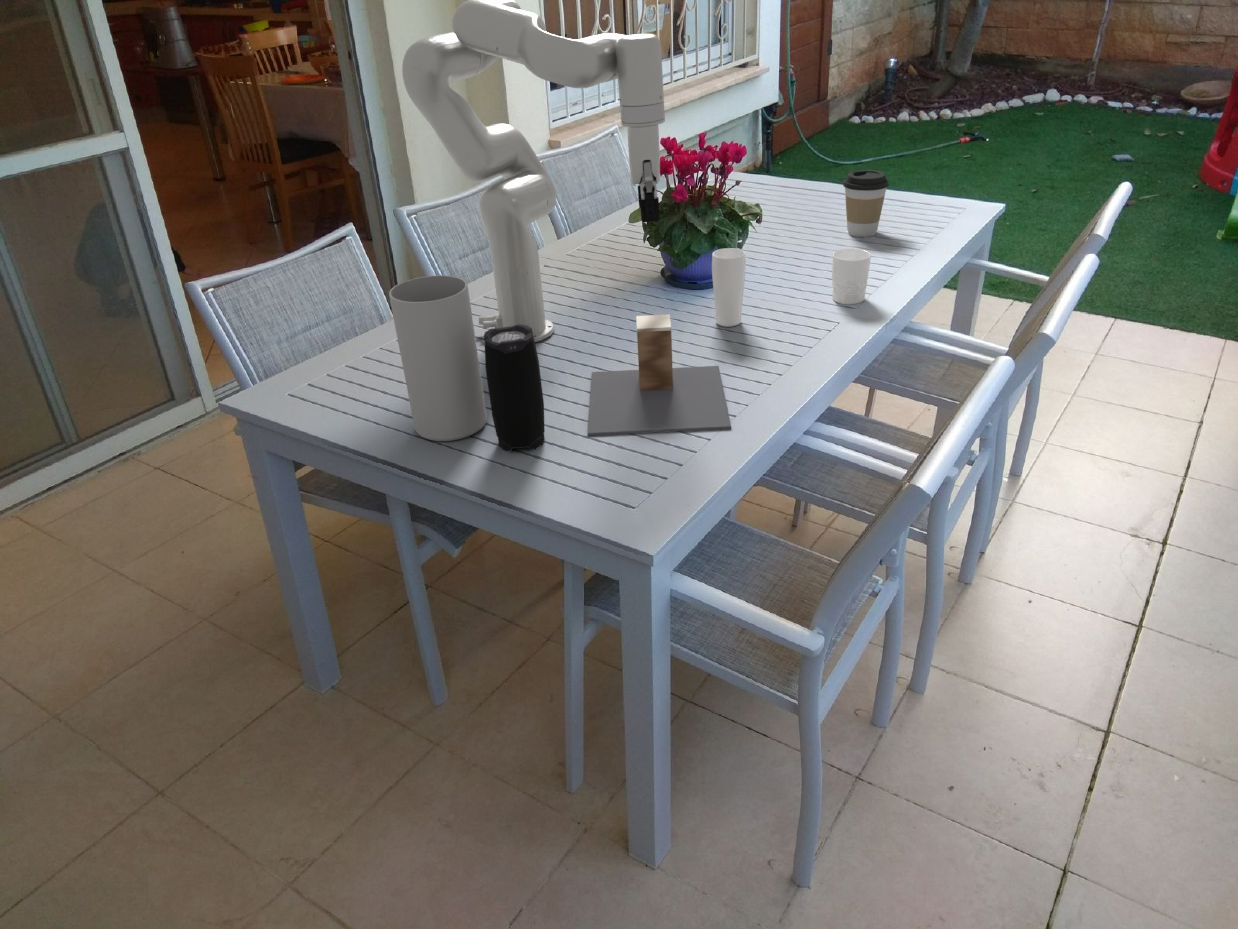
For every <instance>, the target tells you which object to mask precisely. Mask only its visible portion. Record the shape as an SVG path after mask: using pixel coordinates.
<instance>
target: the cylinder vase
mask: <svg viewBox="0 0 1238 929" xmlns="http://www.w3.org/2000/svg"><path fill="white" fill-rule="evenodd" d="M468 284H469V283H468V282H467V280H465V279H464V278H461V277H458V276H455V275H443V274H442V275H441V274H440V275H437V274H436V275H427V276H420V277H415V278H412V279H408V280H405V281H402V282H399V283H398V284H396V285H394V286H393V287H392V288H391V289H390V290H389V292H388V295H389V301H390V307H391V312H392V316H393V323H394V328H395V333H396V338H397V344H398V348H399V354H400V358H401V364H402V369H403V374H404V380H405V385H406V389H407V394H408V401H409V406H410V411H411V416H412V417H411V418H412V421H413V426H414V430H415V432H416V433H417V434H418V435H419V436H420V437H422V438H424V439H427V440H430V441H434V442H450V441H451V442H452V441H458V440H461V439H465V438H469V437H470V436H472V435H474V434H476V433H478V432H480V430H482V429H483V428H484V426H485V425H486V422H487V420H488V419H487V418H488V415H487V409H486V408H487V407H486V401H485V395H484V388H483V382H482V381H483V380H482V375H481V368H480V361H479V354H478V346H477V339H476V333H475V326H474V320H473V313H472V312H473V311H472V306H471V299H470V293H469V286H468Z"/></svg>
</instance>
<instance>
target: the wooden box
mask: <svg viewBox="0 0 1238 929" xmlns="http://www.w3.org/2000/svg"><path fill="white" fill-rule="evenodd" d="M636 340H637V358H638V362H637V363H638V370H639V382H640V391H645V390H665V389H673V370H672V368H673V343H672V342H673V340H672V322H671V314H669V313H668V314H653V315H651V314H647V315H636Z"/></svg>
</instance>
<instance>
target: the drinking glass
mask: <svg viewBox="0 0 1238 929" xmlns="http://www.w3.org/2000/svg"><path fill="white" fill-rule="evenodd" d="M711 256H712V258H711V276H712V278H711V279H712V286H713V287H712V289H713V296H714V298H713V299H714V309H715V310H714V312H715V322H716V324H717V325H719V326H722V327H726V328H727V327H728V328H729V327H735V326H736V327H737V326H738V325H740V323H741V322H742V318H743V317H742V316H743V315H742V312H743V302H744V291H745V280H746V262H747V260H746V259H747V258H746V252H745V251H744V250H742V249H740V248H734V247H733V248H731V247H726V248H719V249H716V250H714V251H713V252H712V253H711Z"/></svg>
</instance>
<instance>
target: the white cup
mask: <svg viewBox="0 0 1238 929" xmlns="http://www.w3.org/2000/svg"><path fill="white" fill-rule="evenodd" d="M871 256H872V254H871V252H869V251H867V250H864V249H861V248H860V249H859V248H842V249H838V250H836V251H833V253H832V268H831V270H832V273H831V274H832V277H831V278H832V284H831V285H832V299H833V301H834V302H836V303H838V304H842V305H856V304H860V303H862V302H864V301H865V297H866V289H867V285H868V279H869V272H870V265H871Z"/></svg>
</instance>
